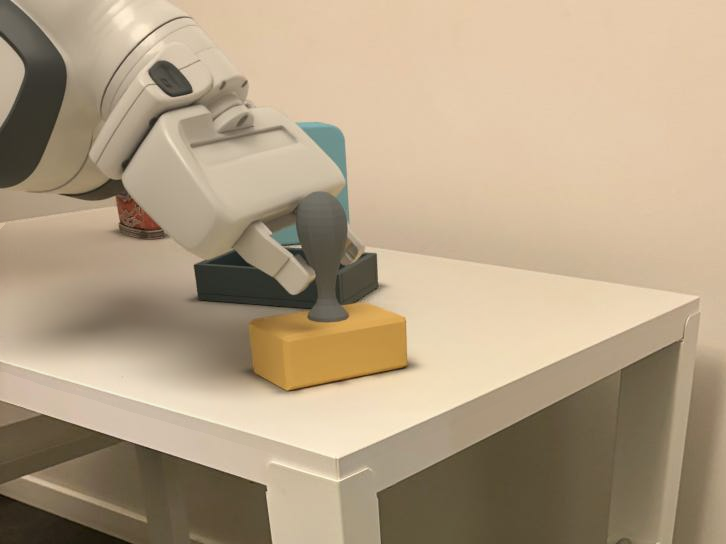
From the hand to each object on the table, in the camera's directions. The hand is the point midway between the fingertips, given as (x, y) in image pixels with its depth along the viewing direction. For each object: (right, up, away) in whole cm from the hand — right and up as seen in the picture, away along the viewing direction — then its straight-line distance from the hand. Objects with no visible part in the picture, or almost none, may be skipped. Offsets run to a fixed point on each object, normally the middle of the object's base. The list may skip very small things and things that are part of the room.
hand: (333, 271), depth 68 cm
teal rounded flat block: (-11, +21, +46) cm, 52 cm away
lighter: (-30, +23, +49) cm, 61 cm away
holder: (-8, +7, +24) cm, 26 cm away
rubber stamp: (-1, -6, +4) cm, 7 cm away
